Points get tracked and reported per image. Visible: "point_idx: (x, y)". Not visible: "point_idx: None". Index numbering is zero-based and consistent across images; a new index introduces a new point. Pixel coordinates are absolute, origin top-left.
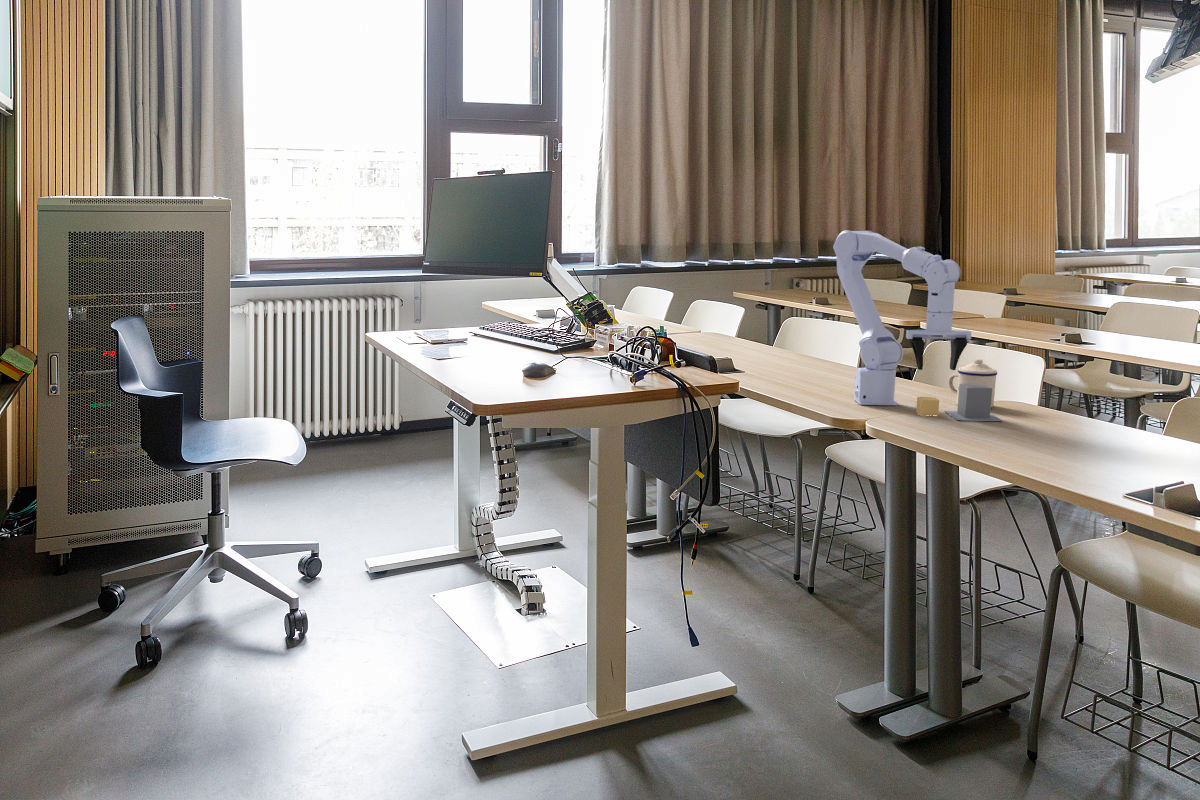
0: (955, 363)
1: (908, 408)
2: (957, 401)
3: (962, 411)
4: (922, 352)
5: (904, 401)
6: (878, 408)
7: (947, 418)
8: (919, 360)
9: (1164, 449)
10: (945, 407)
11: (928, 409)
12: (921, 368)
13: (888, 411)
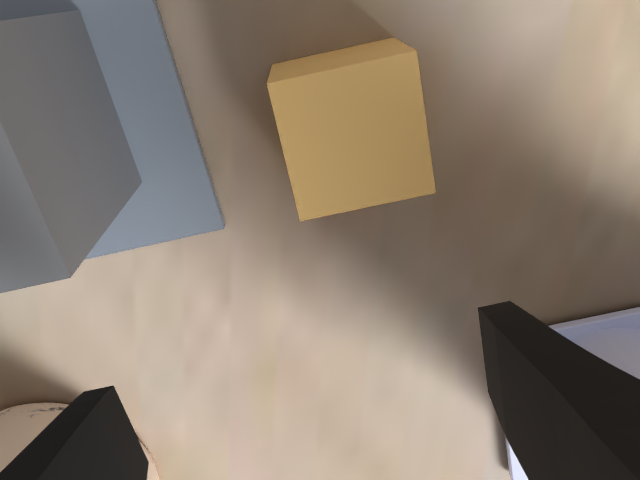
0: (50, 438)
1: (441, 290)
2: (150, 473)
3: (92, 81)
4: (620, 429)
5: (437, 475)
6: (634, 230)
7: (206, 15)
8: (582, 351)
9: None
10: (219, 386)
11: (345, 55)
12: (496, 309)
13: (590, 148)
